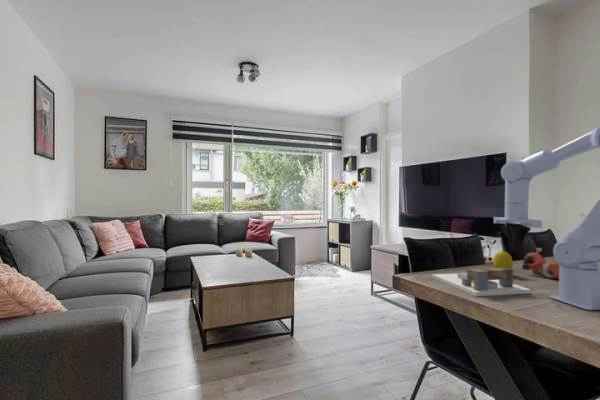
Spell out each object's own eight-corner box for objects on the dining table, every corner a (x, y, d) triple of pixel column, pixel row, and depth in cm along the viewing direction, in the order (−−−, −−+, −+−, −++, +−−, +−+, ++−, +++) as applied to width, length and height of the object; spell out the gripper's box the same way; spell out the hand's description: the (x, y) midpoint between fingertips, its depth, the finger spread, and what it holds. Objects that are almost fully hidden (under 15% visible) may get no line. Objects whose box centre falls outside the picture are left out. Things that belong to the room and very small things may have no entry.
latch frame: (530, 293, 85) (531, 271, 84) (475, 296, 81) (475, 273, 81) (478, 275, 103) (479, 257, 103) (431, 277, 100) (432, 258, 100)
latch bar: (505, 283, 90) (506, 267, 90) (515, 286, 86) (516, 270, 86) (466, 285, 87) (466, 269, 87) (474, 288, 84) (475, 271, 84)
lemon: (516, 276, 103) (516, 252, 103) (499, 276, 103) (499, 251, 103) (505, 272, 109) (506, 249, 109) (489, 272, 109) (490, 249, 109)
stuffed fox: (540, 252, 112) (581, 255, 101) (531, 280, 109) (572, 286, 98) (528, 240, 110) (569, 243, 99) (518, 269, 107) (559, 274, 96)
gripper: (485, 202, 98) (484, 246, 98) (526, 204, 84) (525, 255, 84) (505, 203, 99) (504, 246, 99) (549, 204, 85) (547, 254, 85)
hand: (515, 250), depth 92 cm, fingers closed
